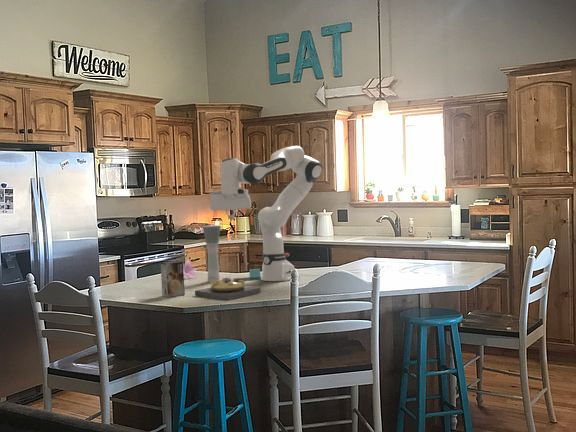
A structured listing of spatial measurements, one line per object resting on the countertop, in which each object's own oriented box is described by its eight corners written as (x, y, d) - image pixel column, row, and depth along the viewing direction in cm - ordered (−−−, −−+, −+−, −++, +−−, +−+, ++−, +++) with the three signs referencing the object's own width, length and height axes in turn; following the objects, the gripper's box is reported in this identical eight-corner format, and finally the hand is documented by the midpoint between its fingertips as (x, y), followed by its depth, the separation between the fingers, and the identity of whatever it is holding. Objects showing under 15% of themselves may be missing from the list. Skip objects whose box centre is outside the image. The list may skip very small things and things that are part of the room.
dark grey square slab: (228, 288, 326) (227, 283, 326) (260, 292, 312) (260, 287, 311) (195, 295, 309) (194, 290, 309) (227, 300, 295) (227, 294, 295)
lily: (173, 282, 361) (179, 267, 358) (173, 271, 371) (178, 257, 368) (194, 287, 365) (200, 272, 362) (193, 276, 375) (198, 262, 372)
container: (201, 282, 349) (199, 226, 347) (211, 279, 357) (209, 225, 356) (216, 283, 345) (213, 226, 343) (226, 280, 353) (223, 225, 351)
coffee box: (179, 293, 318) (177, 260, 317) (185, 294, 313) (183, 261, 312) (161, 295, 313) (160, 262, 312) (167, 297, 308) (166, 263, 307)
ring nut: (214, 292, 300) (213, 274, 299) (208, 287, 316) (207, 270, 315) (264, 288, 307) (264, 271, 306) (256, 283, 322) (255, 266, 322)
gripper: (208, 191, 320) (209, 219, 320) (249, 190, 318) (250, 218, 318) (210, 191, 326) (211, 218, 327) (251, 190, 324) (252, 217, 325)
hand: (231, 218), depth 322 cm, fingers closed
